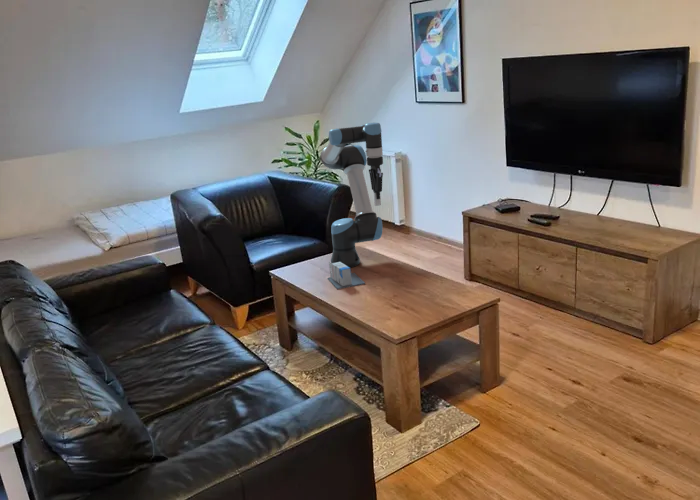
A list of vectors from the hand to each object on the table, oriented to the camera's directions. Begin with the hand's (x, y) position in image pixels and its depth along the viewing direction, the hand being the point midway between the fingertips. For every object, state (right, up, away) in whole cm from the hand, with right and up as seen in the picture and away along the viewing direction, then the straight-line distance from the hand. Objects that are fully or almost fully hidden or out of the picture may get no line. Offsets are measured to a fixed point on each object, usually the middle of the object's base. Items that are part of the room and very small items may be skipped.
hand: (377, 205), depth 306 cm
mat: (-15, -37, +2) cm, 40 cm away
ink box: (-15, -34, -6) cm, 38 cm away
